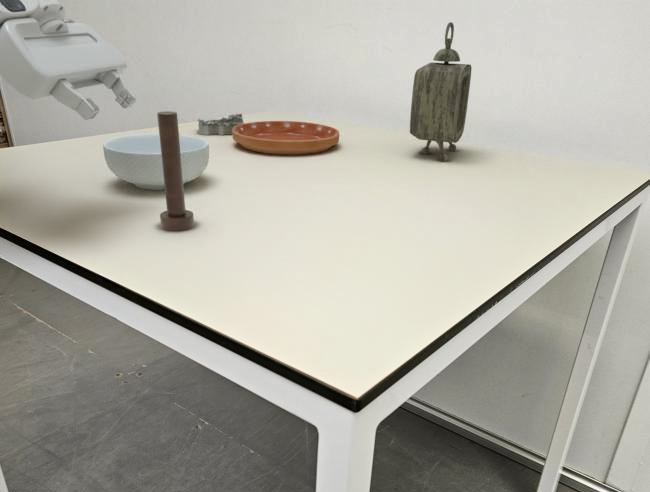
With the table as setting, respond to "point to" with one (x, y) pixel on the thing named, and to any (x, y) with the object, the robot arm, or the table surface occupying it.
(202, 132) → the egg carton
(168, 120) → the stirring stick
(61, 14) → the robot arm
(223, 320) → the table surface
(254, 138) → the saucer
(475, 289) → the table surface
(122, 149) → the cereal bowl
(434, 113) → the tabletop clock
